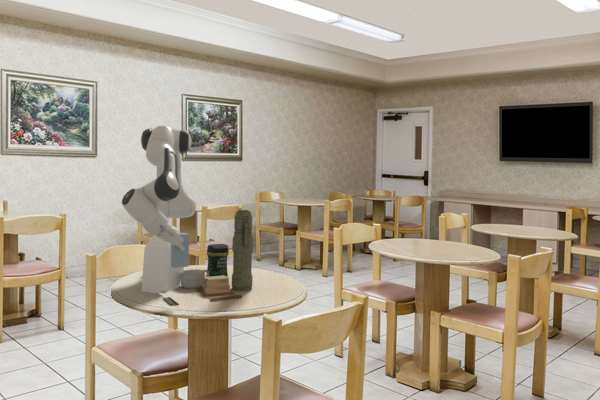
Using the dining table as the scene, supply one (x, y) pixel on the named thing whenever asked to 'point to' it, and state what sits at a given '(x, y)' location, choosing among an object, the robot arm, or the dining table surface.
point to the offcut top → (216, 281)
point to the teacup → (193, 278)
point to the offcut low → (216, 289)
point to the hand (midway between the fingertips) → (181, 248)
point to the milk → (159, 267)
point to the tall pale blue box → (180, 253)
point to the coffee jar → (217, 259)
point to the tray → (218, 295)
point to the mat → (170, 301)
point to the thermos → (242, 251)
